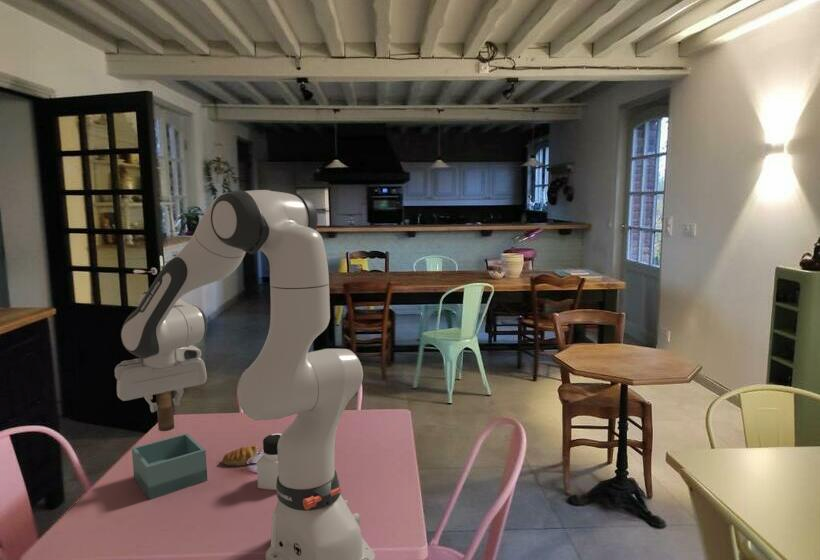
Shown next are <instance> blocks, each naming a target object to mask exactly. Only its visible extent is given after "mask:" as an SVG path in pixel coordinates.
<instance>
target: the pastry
mask: <svg viewBox="0 0 820 560" xmlns="http://www.w3.org/2000/svg"><path fill="white" fill-rule="evenodd" d="M257 452H259V450H258V446H257V445H256V444H254V445H252V446H251V445H250V446H248V445H247V446H242V447H239V448H237V449H236V450H235V449H234V450H231V451H230V452H228V453H225V455H224V456H223V457H222V464H224V465H226V466H237V467H240V466H247V465H246V464H247V461H248V459H249V458H251V457H253V456H254V455H256V454H257Z"/></svg>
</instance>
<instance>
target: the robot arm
mask: <svg viewBox="0 0 820 560" xmlns="http://www.w3.org/2000/svg"><path fill="white" fill-rule="evenodd" d="M318 218H319V217H318V212H317V208H316V207H315V204H314V202H313V201H311V199H310V198H308V197H307V196H305V195H302V194H300V193H296V192H281V191H273V190H270V189H256V190H254V189H253V190H241V189H240V190H239V189H238V190H231V191H228V192H224V193H221V194H218V195H217V196H216V197H214V199H213V200H212V202H211V203H210V204H209V205H208V207H207V209H206V210H205V212H204V214H203V215H202V217H201V218H200V219H199V222H198V223H197V226H196V229H195V230H194V233H193V234H192V235H191V238H190V239H189V240H188V242H186V245H184V246H183V248H182V249H181V250H180V251H179V252H178V253H177V254H176V255H175V256H174V257H173V258H171V259H169V261H168V262H166V263H165V265H164V266H163V267H162V268H161V270H160V271H159V273H158V274H157V276H156V277H155V279H154V280H153V282H152V284H151V285H150V287H149V288H148V290H147V291H144V292H143V293H141V294H140V296H139V300H138V306H137V307H136V309H134V311H132V312H131V313H130V314H129V315H128V316H127V317H126V319H125V321H124V322H123V324H122V327H121V329H120V339H121V343H122V345H123V348H124V349H125V350H126V351H128V352H129V353H130V354H132V355H133V356H135V357H136V358H133V359H129V360H123V361H120V363H118V364H117V365H116V366H115V368H114V378H115V379H116V395H117V397H118V399H120V400H121V401H123V402H125V401H132V400H137V399H140V398H144V399H145V401H146V402H147V403H148V405H149V409H150V412H151V413H155V412H156V413H157V411H158V410H159V409H158V404H157V402H153V401H152V400H153V395H155V396H156V394H160V393H163V392H166V391H172V392H173V391H175V393H176V394H175V396H174V398H172V399H173V409H174V408H178V407H180V406H181V404H180V403H181V402H180V400H181V398H182V396H183V394H184V389H187V388H191V387H197V386H201V385H203V384H205V383H206V381H207V380H208V376H207V375H208V374H207V369H206V363H205V361H204V360H203V359H202V358H201V357H202V351H201V349H200V348H198V347H197V346H194V345H196V344H198V343H200V342H202V341H203V340H204V338H205V337H206V335H207V331H208V321H207V320H208V319H207V316H206V314H205V313H204V311H203V310H202V308H199V306H197V305H194V304H190V303H187V302H186V301H184V300H183V299H182V297H183V296H184V295H187V294H188V293H190V292H192V291H193V290H196V289H198V288H201V287H204V286H208V285H210V284H212V283H216V282H218V281H221V280H224V279H226V278H228V277H229V276H231V275H232V274H233V273H234V272H235V271H236V269H237V268H239V266H240V265H241V264H242V262H243V259H244V257H245V256H246V253H247V254H250V255H255V254H256V253H257V252H259V251H260V252H262V254H263V253H264V255H265V256H266V257H267V259H268V263H269V286H270V287H269V288H270V290H269V291H270V294H269V295H270V320H269V329H268V334H267V337H266V339H265V342H264V345H263V346H262V348H261V350H260V352H259V353H258V355H257V357H256V358H255V359H254V361H253V362H252V363H251V364H250V366H248V367H247V368H246V369H245V370H244V372H243V373H242V374H241V375H240V378H239V380H238V382H237V388H236V397H237V401H238V403H239V406H240V408H241V410H242V411H243V412H244V414H245V415H247V416H248V418H250V419H252V420H254V421H269V420H279V419H283V418H287V417H290V416H293V415H296V417H295V419H294V420H293V421H292V422H291V424H289V425H288V427H287V428H285V430H284V431H283V432H282V433H281V434H282V435H281V436H280V438H279V441H278V445H277V452H278V474H279V475H278V477H277V483H276V490H275V491H276V497H277V503H276V506H275V509H274V510H273V513H272V515H271V531H270V532H271V534H270V535H271V537H270V538H271V539H270V546H269V548H268V549H267V550H266V551H265V552H266V553H265V556H264V557H265V560H376V553H375V552H374V551H373V549H372V548H371V547H370V545H369V544H368V543H367V541H365V539H364V537H362V531H361V527H360V526H359V525H360V524H361V517H360V514H359V513H358V512H355V513H352V511H351V510H350V508H349V502H348V500H347V499H344V498H343V496H342V494H341V493H342V492H343V490H341V489H342V488H343V487H342V486H340V479H339V477H338V473H337V471H336V468H335V449H336V447H335V446H336V445H335V444H336V443H335V442H336V435H337V430H338V426H339V424H340V420H341V418H342V415H343V413H344V412H345V409H346V407H347V405H348V403H349V402H350V401H351V399H352V398H353V397H354V396H355V394H356V393H357V392H358V391H359V390H360V388H361V387H362V384H363V378H364V372H363V371H364V370H363V365H362V363H361V361H360V359H359V357H358V356H357V354H356V353H354V351H352V350H351V349H349V348H348V349H347V348H322V349H319V350H313V351H309V350H310V348H311V346H312V344H313V342H314V341H315V339H317V338H318V336H320V335H321V334H322V333H324V331H325V330H326V329H327V328H328V326H329V323H330V320H331V306H330V305H331V303H330V298H331V296H330V277H329V276H330V275H329V274H330V273H329V267H328V266H329V265H328V258H327V252H326V246H325V243H324V239H323V237H322V235H321V234H320V233H319V231H317V230H316V229H317V227H318V222H319V221H318V220H319V219H318ZM137 357H138V358H137Z"/></svg>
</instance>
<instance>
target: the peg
mask: <svg viewBox="0 0 820 560" xmlns="http://www.w3.org/2000/svg"><path fill="white" fill-rule="evenodd" d="M173 399H174V398H173V391H166V392H163V393H160V394H155V400H156V402H155V403H157V404H158V409H159V410H158V411H156V413H157V427H158V431H159V432H168V431H172V430H173V429H175V418H174V417H175V416H174V408H173Z"/></svg>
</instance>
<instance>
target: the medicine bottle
mask: <svg viewBox="0 0 820 560" xmlns="http://www.w3.org/2000/svg"><path fill="white" fill-rule="evenodd" d="M281 435H282V433H271V434H269V435H267V436H265V437H264V438H263V440H262V445H263V446H262V448H263V449H262V450H263V455H261V456H260V457H259V460H258V461H257V463H256V472H257V474H256V475H257V488H258V489H261V490H270V491H271V490H272V491H276V483H277V477H278V475H279V474H278V452H277V445H278V441H279V438H280V436H281Z"/></svg>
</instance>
